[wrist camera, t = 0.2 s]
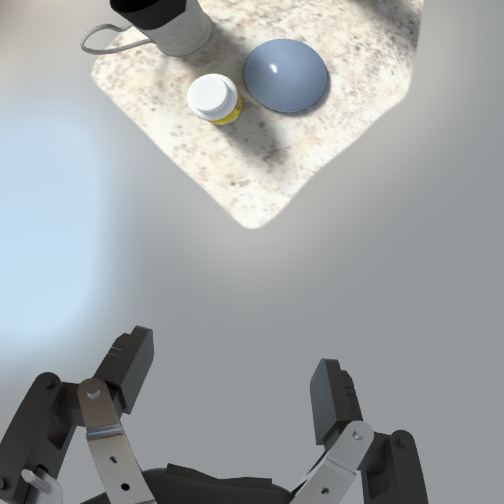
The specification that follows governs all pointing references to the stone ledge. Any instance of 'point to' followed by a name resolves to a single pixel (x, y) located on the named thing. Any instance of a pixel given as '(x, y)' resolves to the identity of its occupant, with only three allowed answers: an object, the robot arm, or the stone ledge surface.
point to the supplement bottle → (215, 99)
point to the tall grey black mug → (160, 25)
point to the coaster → (285, 75)
